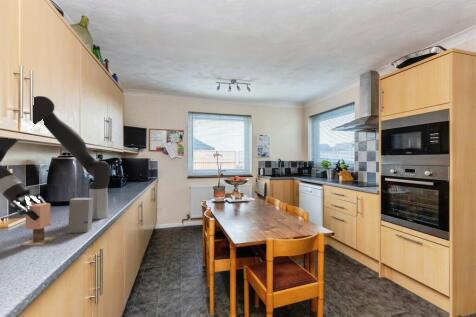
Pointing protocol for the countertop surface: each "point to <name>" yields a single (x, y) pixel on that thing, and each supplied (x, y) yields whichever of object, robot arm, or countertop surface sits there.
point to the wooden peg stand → (38, 238)
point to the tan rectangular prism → (43, 214)
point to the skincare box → (80, 215)
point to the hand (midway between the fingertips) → (42, 217)
